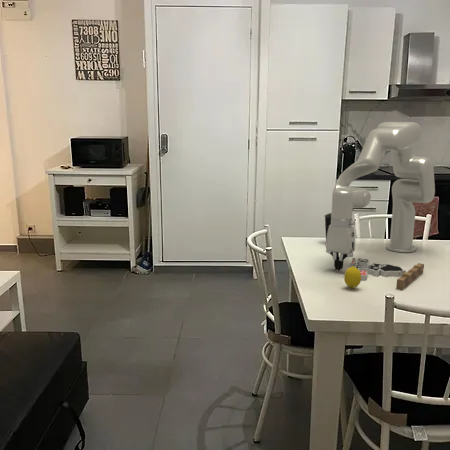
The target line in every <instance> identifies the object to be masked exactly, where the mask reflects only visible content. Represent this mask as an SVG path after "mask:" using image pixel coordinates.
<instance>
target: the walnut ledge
mask: <svg viewBox="0 0 450 450" xmlns="http://www.w3.org/2000/svg"><path fill="white" fill-rule="evenodd" d="M424 268H425V264H424V263H419V262H418V263H417V264H413V267H411V268H410V269H409V270H408V271H406V273H404V274H403V275H402V276H399V277H397V279H396V288H395V289H396V290H397V291H398V290H399V291H404V290H405V289H406V288H407V287H408V286H409V285H411V284H412V283H414V281H416V279H418V278H419V277H420V276H421V275H423V274H424V270H425V269H424Z"/></svg>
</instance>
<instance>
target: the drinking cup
mask: <svg viewBox="0 0 450 450" xmlns="http://www.w3.org/2000/svg"><path fill="white" fill-rule="evenodd" d="M324 222H325V223H324V224H325V225H324V227H325V239H326V238H327V232H328V228H329V225H331V212H330V213H329V212H328V213H327V214H325V215H324Z"/></svg>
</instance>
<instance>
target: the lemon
mask: <svg viewBox="0 0 450 450" xmlns="http://www.w3.org/2000/svg"><path fill="white" fill-rule="evenodd" d="M343 276H344V277H343V278H344V279H343V280H344V283H345V285H346V286H347V287H349V288H350V289H352V290H353V289H354V288H356V287H358V286H359V285H360V284H361V282H362V281H361V273H360V271H359V270H358V269H357V268H356V267H354V266H352V267H351V266H350V267H348V268H347V269H346V270H345V272H344V275H343Z"/></svg>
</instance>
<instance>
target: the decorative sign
mask: <svg viewBox="0 0 450 450" xmlns="http://www.w3.org/2000/svg"><path fill="white" fill-rule="evenodd" d="M351 258H352V259H351V262H350V267H352V266H354V267H356V268H357V269H358V270H359V271H360V273H361V281H360V282H362V281H363V282H366V281H368V275H370V276H373V277H379V276H382V277H384V278H389V277H390V278H391V277H394V278H395V277H396V278H400V277H401V276H402V275H403V274H404V273H406V272H407V270H406V269H404V268H402V266H399V265H394V264H389V263H376V262H375V263H371V262H370V261H371V260H370V259H368V258H356V257H351Z"/></svg>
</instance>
